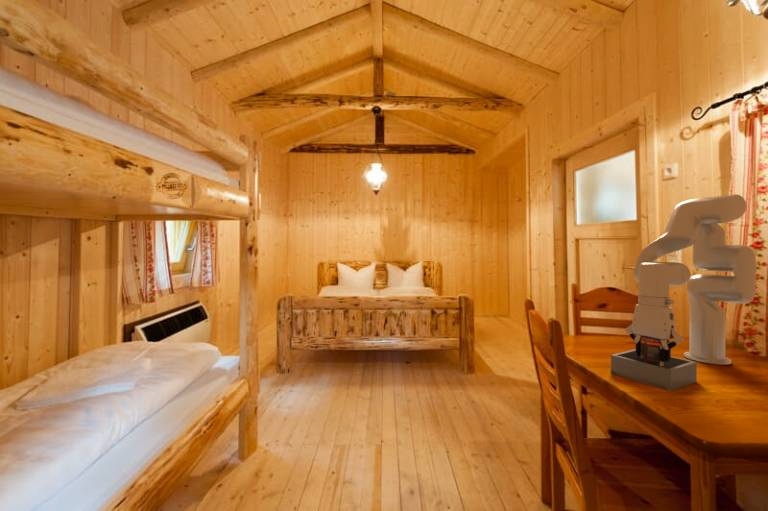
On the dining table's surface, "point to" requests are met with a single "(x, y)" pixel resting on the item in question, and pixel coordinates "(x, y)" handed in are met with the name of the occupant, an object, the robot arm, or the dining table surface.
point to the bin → (654, 371)
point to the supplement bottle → (651, 351)
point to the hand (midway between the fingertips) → (652, 357)
